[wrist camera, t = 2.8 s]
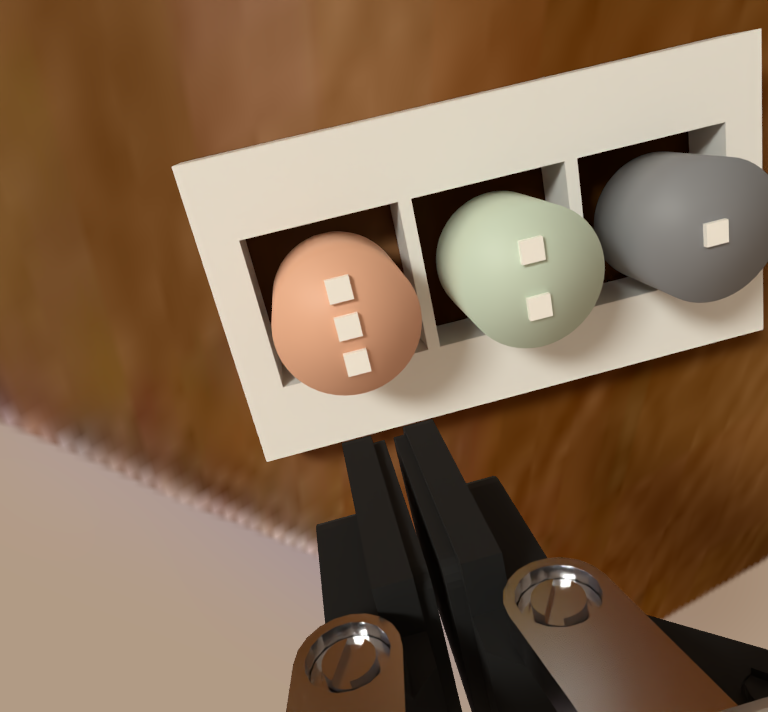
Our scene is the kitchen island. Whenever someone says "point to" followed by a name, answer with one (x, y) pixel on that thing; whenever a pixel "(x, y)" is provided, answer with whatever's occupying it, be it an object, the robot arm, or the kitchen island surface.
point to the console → (455, 169)
